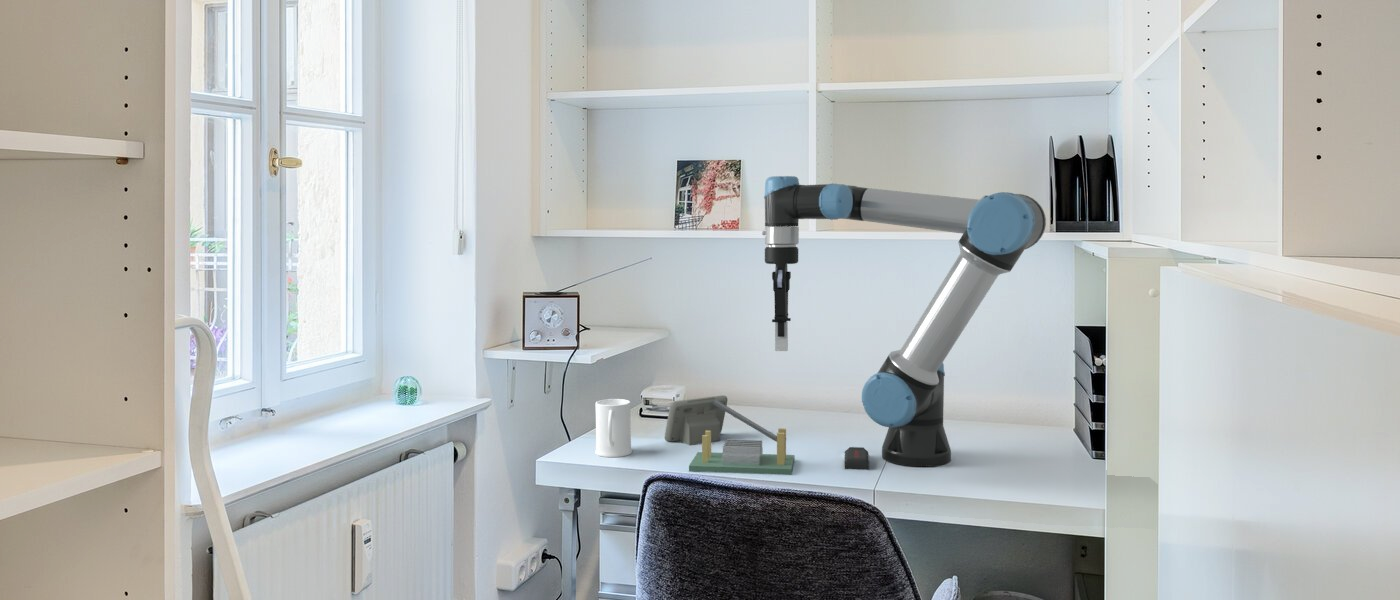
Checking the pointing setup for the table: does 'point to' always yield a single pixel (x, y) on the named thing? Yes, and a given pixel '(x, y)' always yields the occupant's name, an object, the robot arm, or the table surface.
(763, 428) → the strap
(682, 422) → the digital clock
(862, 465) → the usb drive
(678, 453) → the table surface
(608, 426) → the mug
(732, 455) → the heatsink
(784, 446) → the board
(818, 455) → the table surface
